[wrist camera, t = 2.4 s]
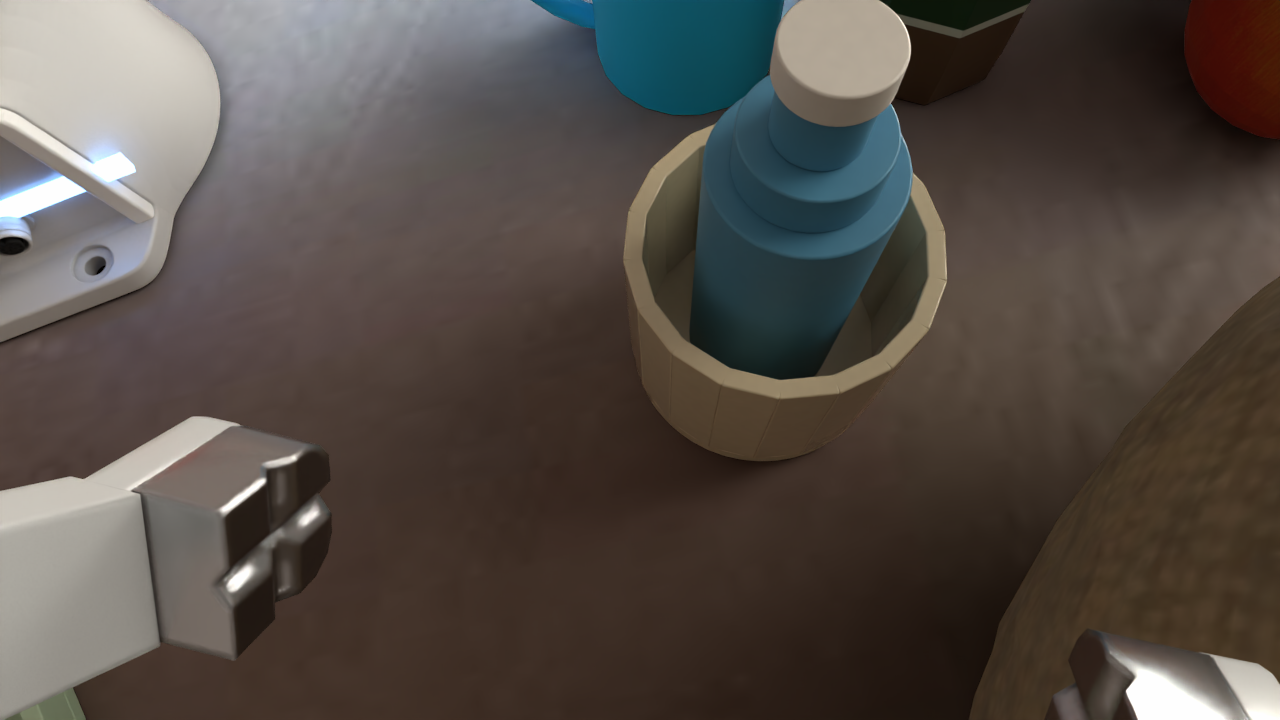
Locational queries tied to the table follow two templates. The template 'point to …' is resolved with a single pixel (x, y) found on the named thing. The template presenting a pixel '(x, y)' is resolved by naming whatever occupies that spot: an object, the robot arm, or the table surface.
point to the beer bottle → (953, 43)
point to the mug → (679, 48)
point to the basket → (1164, 529)
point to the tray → (54, 709)
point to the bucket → (749, 403)
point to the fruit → (1237, 61)
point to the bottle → (801, 190)
